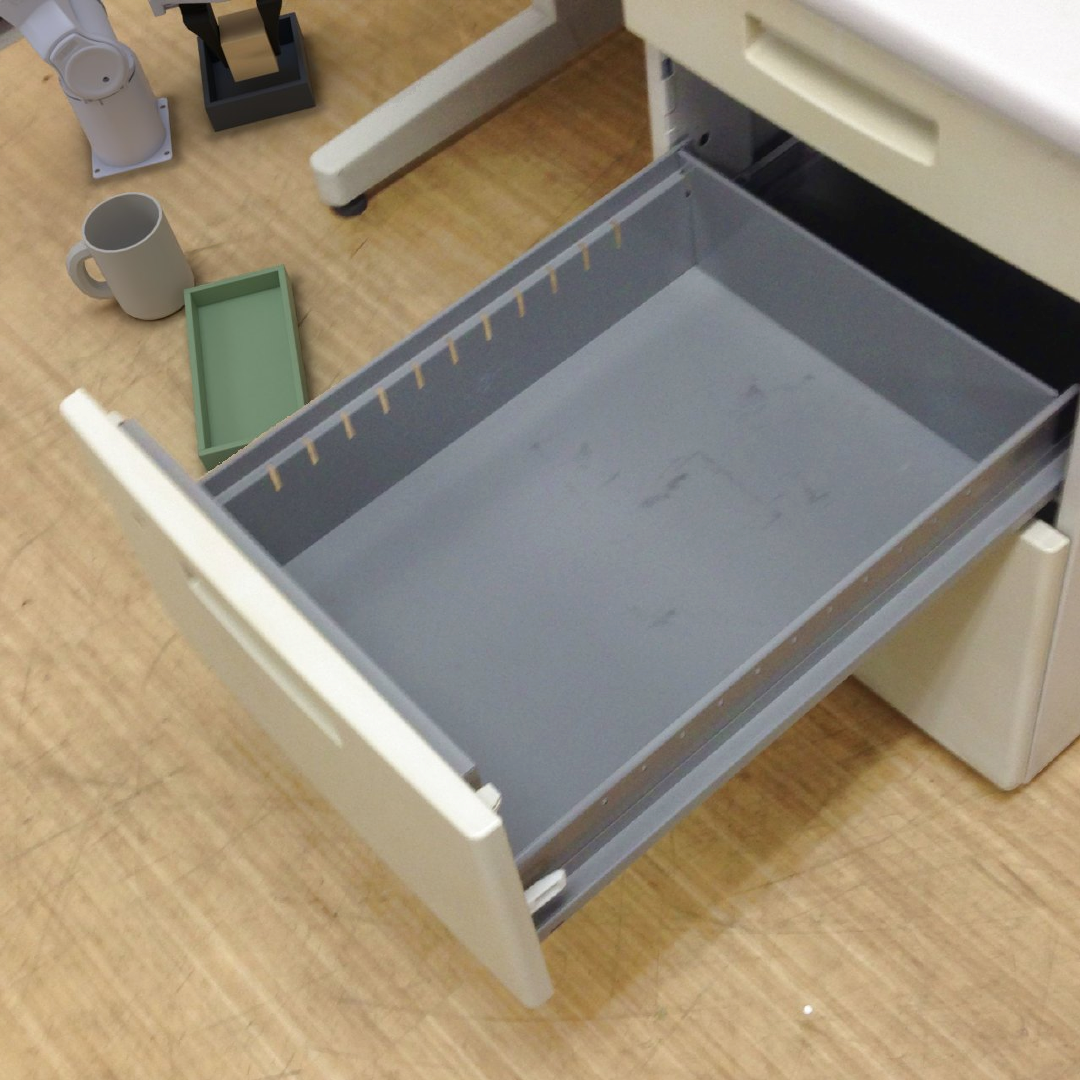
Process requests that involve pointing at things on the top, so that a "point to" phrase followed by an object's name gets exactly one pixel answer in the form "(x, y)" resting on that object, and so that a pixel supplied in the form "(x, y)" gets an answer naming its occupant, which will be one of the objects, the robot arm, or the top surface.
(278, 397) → the tray
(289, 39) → the dark grey open box
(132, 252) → the cup
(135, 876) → the top surface
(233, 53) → the block
